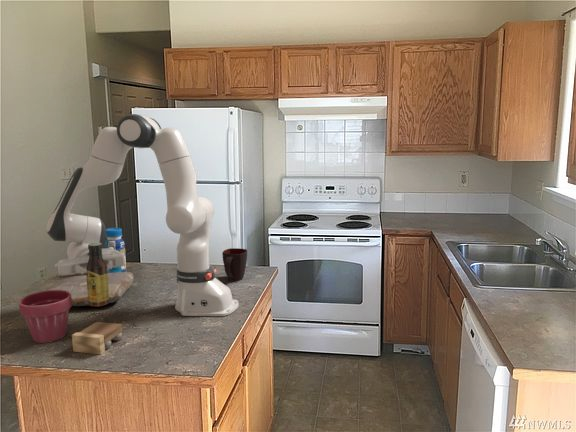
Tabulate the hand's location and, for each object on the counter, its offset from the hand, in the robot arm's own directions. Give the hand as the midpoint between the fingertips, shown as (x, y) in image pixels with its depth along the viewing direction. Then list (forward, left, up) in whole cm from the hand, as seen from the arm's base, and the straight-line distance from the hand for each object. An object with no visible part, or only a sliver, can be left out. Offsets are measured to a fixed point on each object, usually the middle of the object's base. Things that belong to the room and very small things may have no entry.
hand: (97, 269), depth 152 cm
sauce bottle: (+1, -1, -12) cm, 12 cm away
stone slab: (+22, -25, -20) cm, 39 cm away
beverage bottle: (+30, -55, -20) cm, 65 cm away
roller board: (-6, +11, -20) cm, 23 cm away
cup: (-24, -57, -20) cm, 65 cm away
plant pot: (+12, +9, -20) cm, 25 cm away
